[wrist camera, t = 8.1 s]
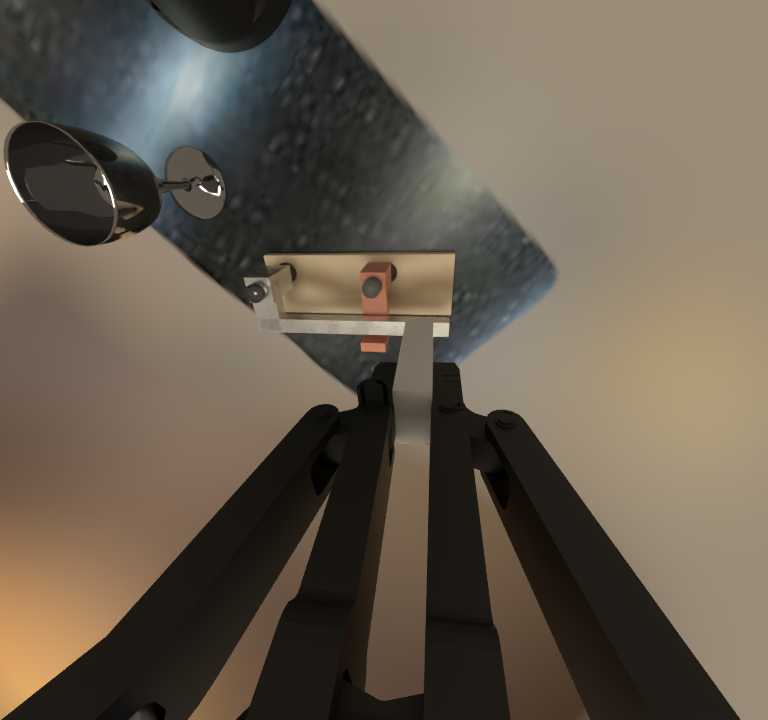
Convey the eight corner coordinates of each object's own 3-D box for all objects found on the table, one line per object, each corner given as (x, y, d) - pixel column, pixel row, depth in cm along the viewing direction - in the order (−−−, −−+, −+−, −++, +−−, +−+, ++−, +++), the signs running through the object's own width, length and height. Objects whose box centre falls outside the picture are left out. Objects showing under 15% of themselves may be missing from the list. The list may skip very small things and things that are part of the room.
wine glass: (149, 182, 36) (-8, 185, 24) (181, 122, 33) (18, 88, 20) (207, 237, 39) (92, 268, 26) (242, 186, 35) (131, 192, 22)
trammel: (274, 261, 38) (237, 281, 31) (450, 260, 35) (453, 282, 28) (284, 310, 41) (252, 338, 34) (446, 313, 38) (449, 344, 31)
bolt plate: (268, 253, 39) (263, 255, 38) (454, 251, 35) (455, 254, 34) (279, 308, 42) (275, 311, 41) (450, 311, 39) (450, 315, 38)
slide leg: (368, 261, 36) (355, 277, 30) (391, 261, 35) (382, 277, 30) (371, 326, 40) (361, 351, 34) (392, 327, 39) (385, 352, 34)
